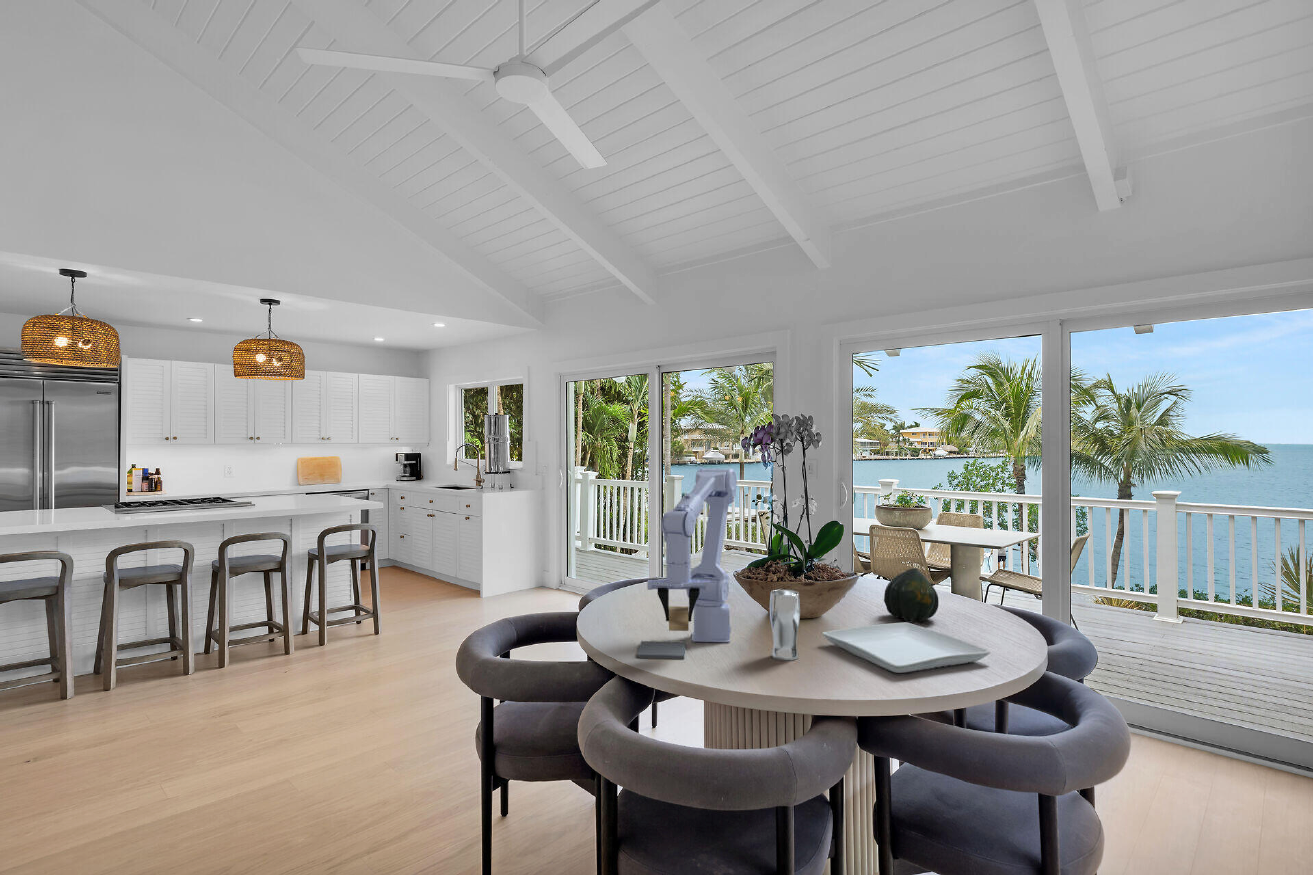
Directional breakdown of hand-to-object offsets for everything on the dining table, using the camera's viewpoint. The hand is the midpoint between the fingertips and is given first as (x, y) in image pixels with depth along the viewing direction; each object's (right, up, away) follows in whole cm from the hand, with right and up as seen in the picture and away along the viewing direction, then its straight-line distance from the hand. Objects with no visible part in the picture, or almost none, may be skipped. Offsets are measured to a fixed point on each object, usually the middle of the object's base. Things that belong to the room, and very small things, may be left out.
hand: (678, 620), depth 155 cm
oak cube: (0, -2, 0) cm, 2 cm away
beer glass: (+25, -9, 0) cm, 26 cm away
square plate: (+53, -9, +2) cm, 54 cm away
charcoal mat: (-4, -9, +4) cm, 10 cm away
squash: (+68, -9, +35) cm, 77 cm away
